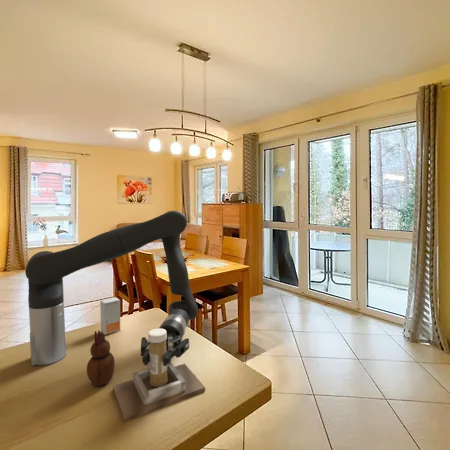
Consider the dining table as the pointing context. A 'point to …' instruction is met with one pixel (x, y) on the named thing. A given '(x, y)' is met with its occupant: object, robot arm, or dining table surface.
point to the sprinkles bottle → (157, 357)
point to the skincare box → (110, 315)
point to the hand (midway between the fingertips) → (154, 361)
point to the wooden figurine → (100, 361)
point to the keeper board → (155, 391)
